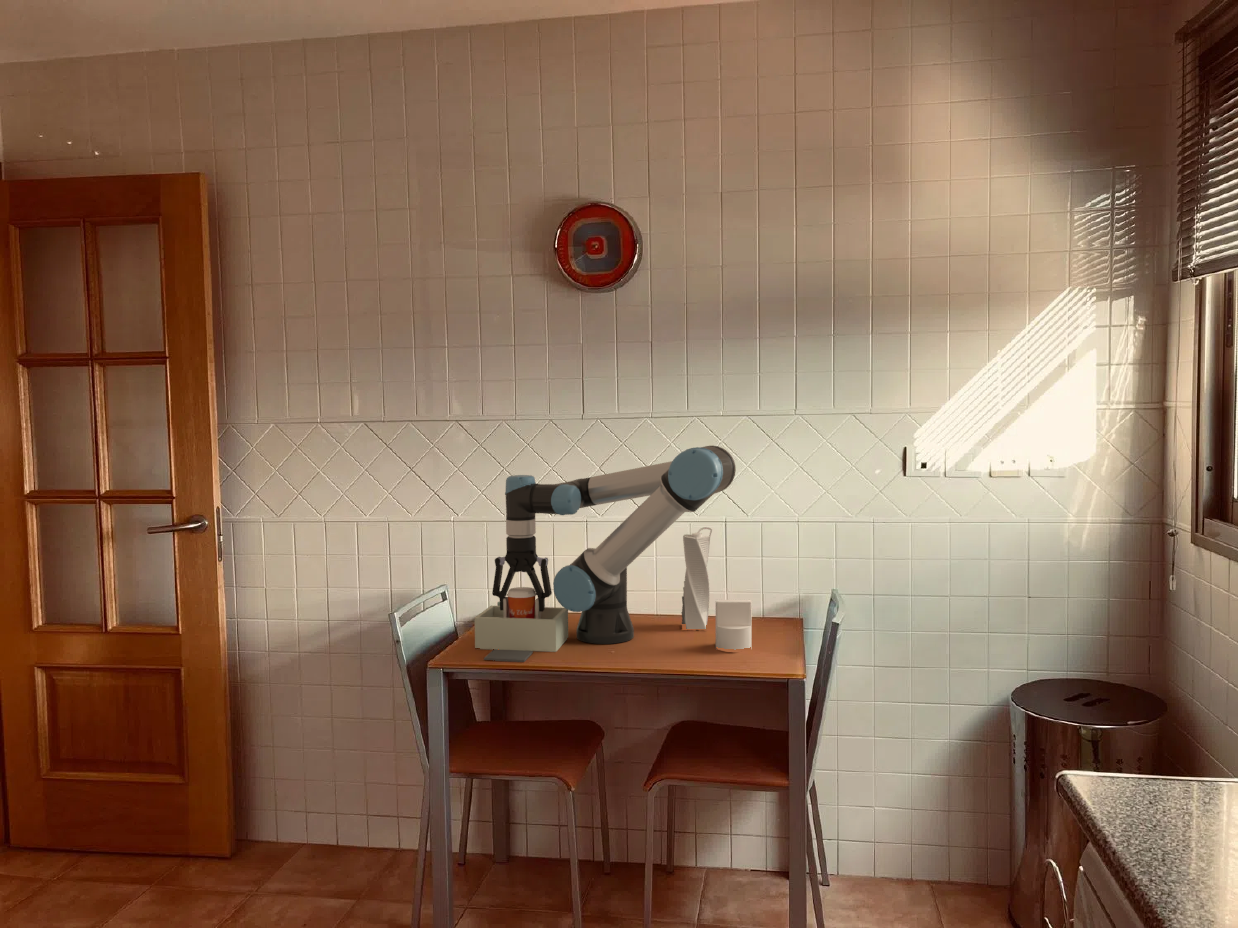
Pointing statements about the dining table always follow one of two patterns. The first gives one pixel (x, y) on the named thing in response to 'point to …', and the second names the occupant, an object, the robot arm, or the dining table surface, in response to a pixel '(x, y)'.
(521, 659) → the mat
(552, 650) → the crate
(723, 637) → the base with upright slab
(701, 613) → the skyscraper
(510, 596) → the paper cup
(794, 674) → the dining table surface
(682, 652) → the dining table surface
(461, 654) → the dining table surface
